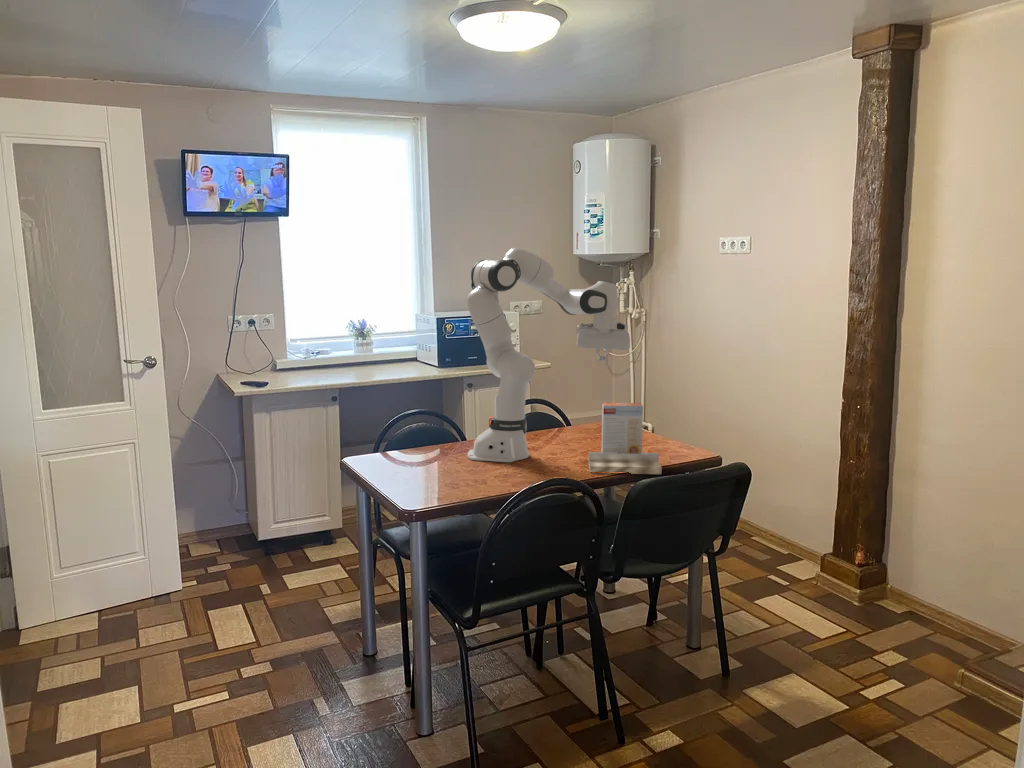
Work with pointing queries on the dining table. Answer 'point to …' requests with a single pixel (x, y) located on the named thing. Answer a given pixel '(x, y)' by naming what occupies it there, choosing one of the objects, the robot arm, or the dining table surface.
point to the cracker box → (622, 427)
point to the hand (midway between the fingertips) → (602, 360)
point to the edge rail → (623, 456)
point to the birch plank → (626, 467)
